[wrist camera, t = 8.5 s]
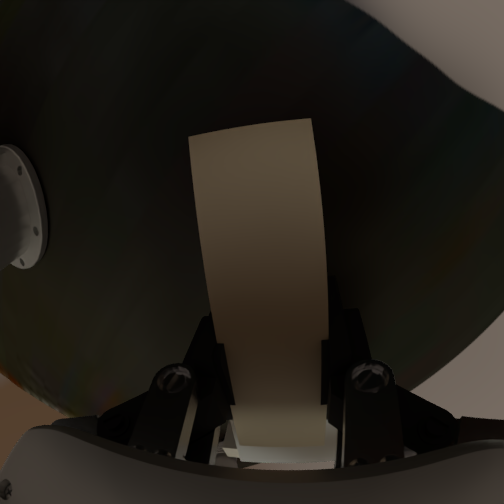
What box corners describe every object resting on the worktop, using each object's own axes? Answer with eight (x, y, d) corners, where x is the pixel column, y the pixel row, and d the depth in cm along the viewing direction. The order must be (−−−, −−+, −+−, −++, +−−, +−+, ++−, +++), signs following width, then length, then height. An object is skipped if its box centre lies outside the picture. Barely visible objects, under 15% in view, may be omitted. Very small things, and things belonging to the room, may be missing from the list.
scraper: (192, 163, 10) (138, 150, 7) (345, 144, 9) (371, 115, 6) (242, 454, 13) (227, 504, 9) (343, 452, 12) (346, 505, 8)
